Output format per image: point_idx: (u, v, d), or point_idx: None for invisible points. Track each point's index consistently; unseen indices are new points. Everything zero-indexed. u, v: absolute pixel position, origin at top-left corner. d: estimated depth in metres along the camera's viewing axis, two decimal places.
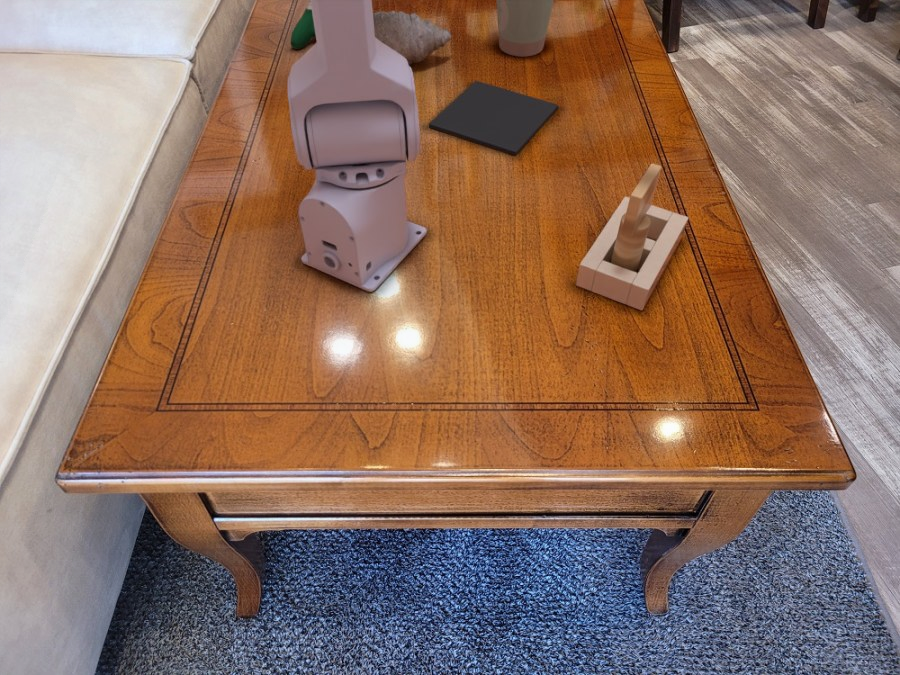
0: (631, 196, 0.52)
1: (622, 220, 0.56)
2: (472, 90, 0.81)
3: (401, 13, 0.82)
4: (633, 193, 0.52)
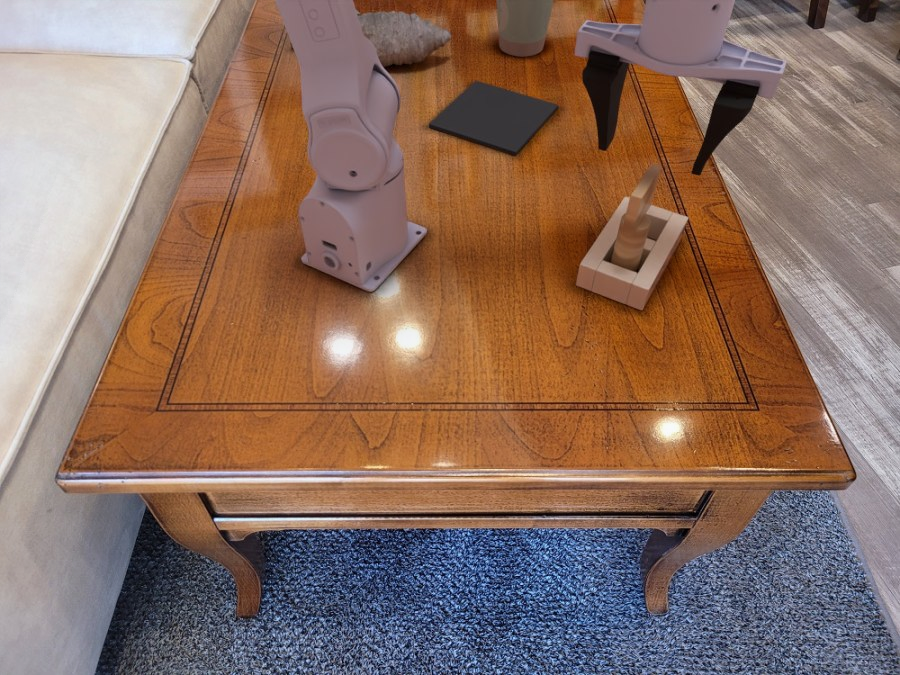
0: (631, 196, 0.52)
1: (622, 220, 0.56)
2: (472, 90, 0.81)
3: (401, 13, 0.82)
4: (633, 193, 0.52)
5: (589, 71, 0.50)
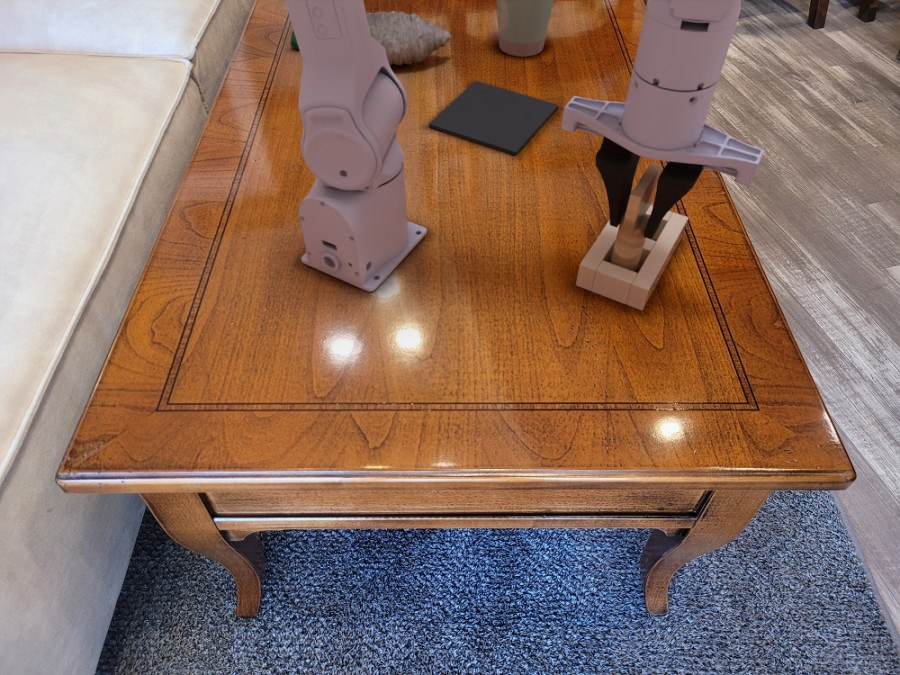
0: (631, 196, 0.52)
1: (622, 220, 0.56)
2: (472, 90, 0.81)
3: (401, 13, 0.82)
4: (633, 193, 0.52)
5: (602, 154, 0.51)
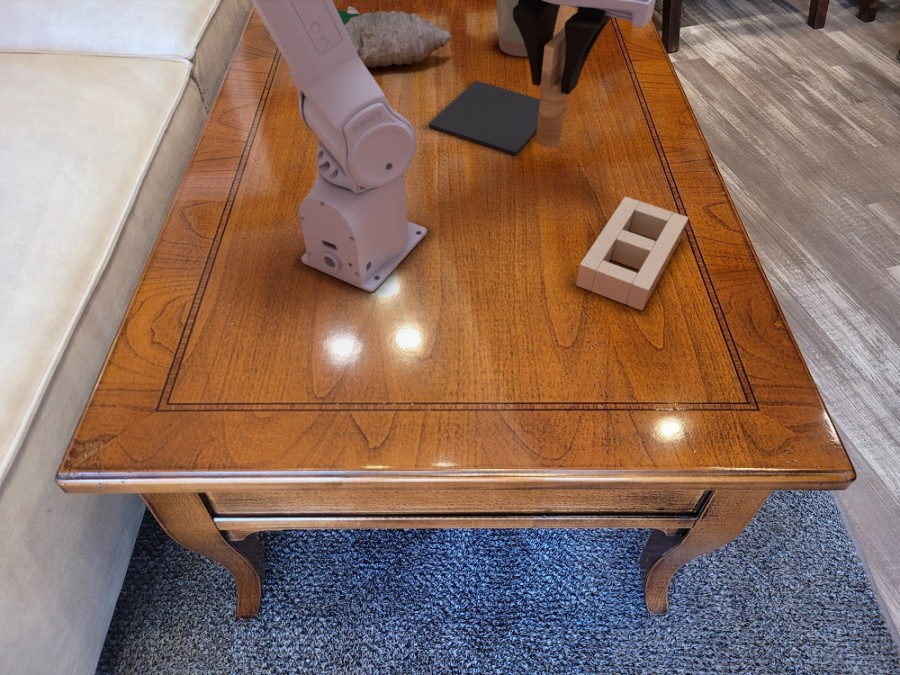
0: (545, 47, 0.58)
1: None
2: (472, 90, 0.81)
3: (401, 13, 0.82)
4: (547, 44, 0.58)
5: (518, 8, 0.57)
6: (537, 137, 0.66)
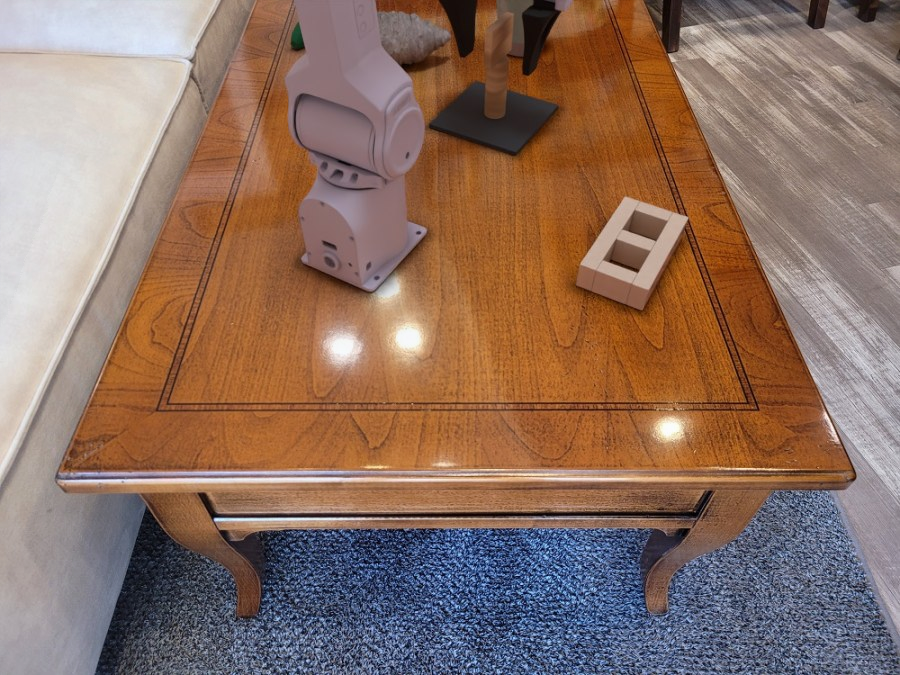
0: (485, 31, 0.68)
1: None
2: (472, 90, 0.81)
3: (401, 13, 0.82)
4: (487, 29, 0.68)
5: None
6: (485, 110, 0.77)
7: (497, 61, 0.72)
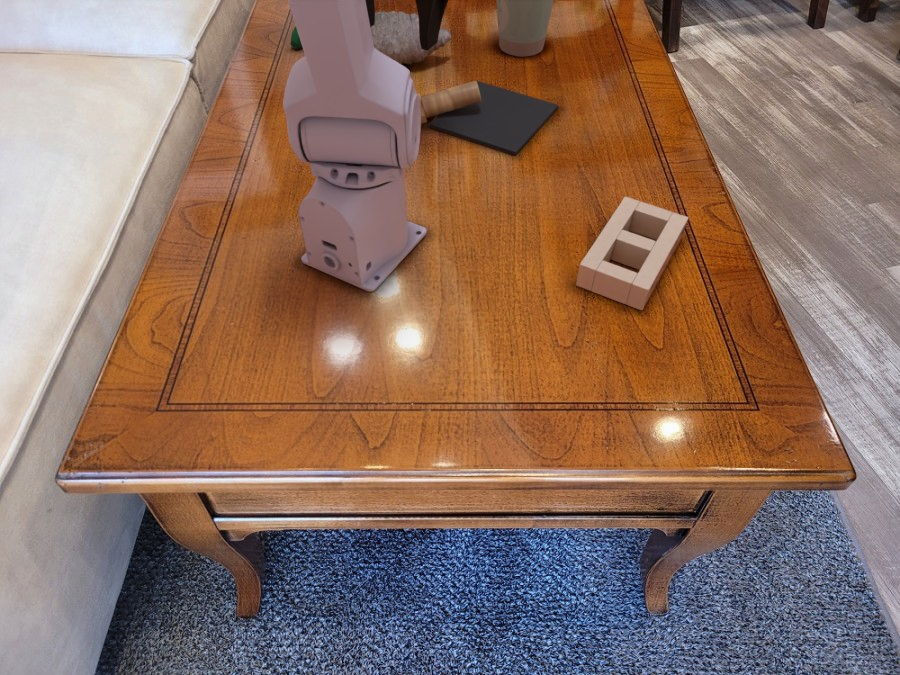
0: None
1: (426, 117, 0.77)
2: None
3: (401, 13, 0.82)
4: None
5: None
6: (476, 102, 0.76)
7: (421, 109, 0.76)
